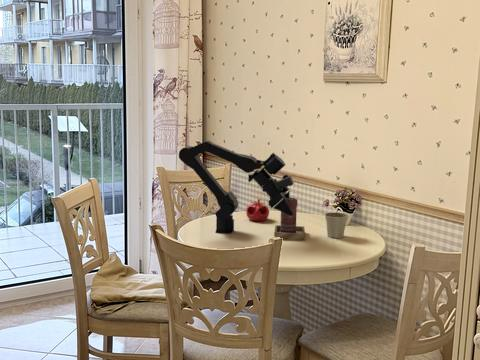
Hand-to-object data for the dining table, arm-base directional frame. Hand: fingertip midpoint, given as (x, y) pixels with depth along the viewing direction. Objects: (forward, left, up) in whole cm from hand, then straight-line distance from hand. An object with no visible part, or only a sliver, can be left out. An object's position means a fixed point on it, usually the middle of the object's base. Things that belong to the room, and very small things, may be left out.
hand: (293, 212), depth 220 cm
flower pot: (+17, +2, -10) cm, 19 cm away
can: (-2, 0, -9) cm, 9 cm away
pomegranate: (-15, +24, -10) cm, 30 cm away
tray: (-1, 0, -10) cm, 10 cm away
